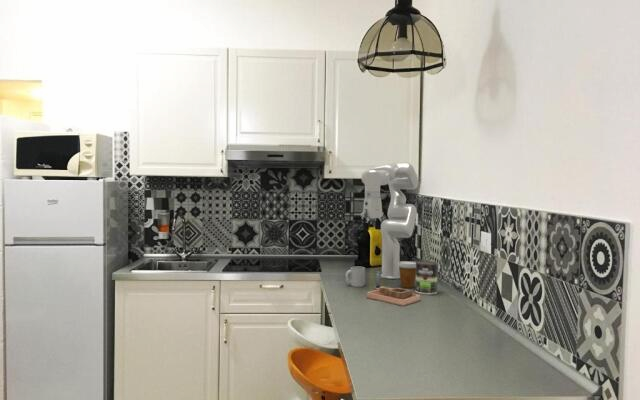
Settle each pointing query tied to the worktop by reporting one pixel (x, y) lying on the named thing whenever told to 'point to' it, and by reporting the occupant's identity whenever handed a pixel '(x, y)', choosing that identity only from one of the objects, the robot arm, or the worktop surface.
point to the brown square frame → (395, 292)
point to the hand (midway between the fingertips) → (372, 230)
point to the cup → (356, 276)
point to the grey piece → (378, 280)
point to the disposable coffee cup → (407, 273)
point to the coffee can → (426, 277)
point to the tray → (376, 296)
